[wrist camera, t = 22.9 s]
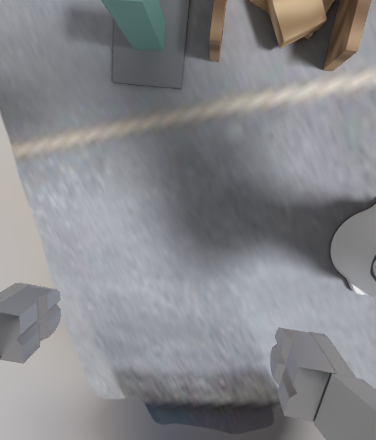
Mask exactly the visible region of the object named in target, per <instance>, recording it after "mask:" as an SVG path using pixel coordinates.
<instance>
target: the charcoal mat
mask: <svg viewBox="0 0 376 440" xmlns="http://www.w3.org/2000/svg"><path fill="white" fill-rule="evenodd" d="M158 1H159V4H160V7H161V10H162V14H163V17H164V20H165V34H164V47H163V51H151V50H139V49H133V47H132V46H131V44H130V43H129V41H128V40H127V38H126V37H125V35H124V34H123V32H122V31H121V29H120V28H119V26H118V25H117V23H116V22H115V20H114V30H113V73H112V82H113V83H120V84H131V85H142V86H153V87H164V88H175V89H181V87H182V76H183V66H184V55H185V45H186V34H187V24H188V13H189V3H190V0H158Z"/></svg>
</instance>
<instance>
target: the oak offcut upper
mask: <svg viewBox="0 0 376 440" xmlns="http://www.w3.org/2000/svg"><path fill="white" fill-rule="evenodd" d="M265 1H266V4H267V8H268V11H269V14H270V18H271V21H272V24H273V28H274V31H275V34H276V38H277V41H278V44H279V48H280V49H281V48H283V47H285V46H287V45H289V44H291V43H293V42H295V41H297V40H299V39H301V38H303V37H305V36H307V35H309V34H311V33H313V32H314V31H316V30H318V29H320V28H321V27H322V26H323V24H324V23H325V22H326V21H327V17H326V13H325V9H324V5H323V1H322V0H265Z"/></svg>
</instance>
